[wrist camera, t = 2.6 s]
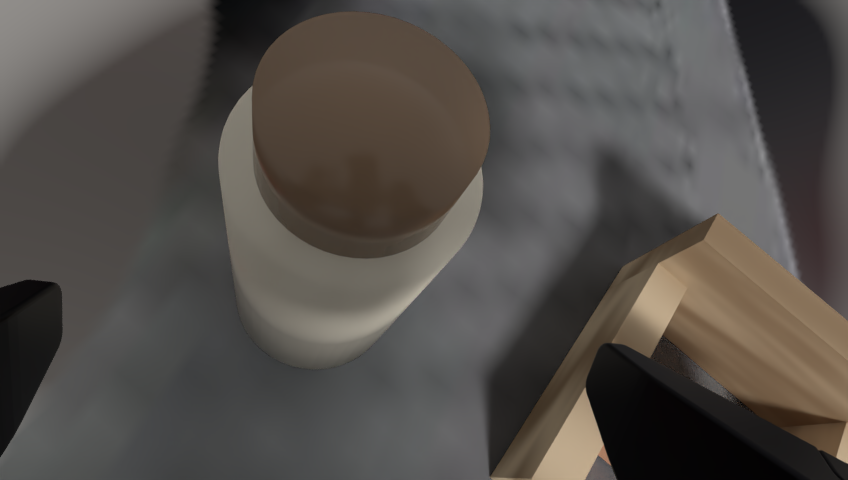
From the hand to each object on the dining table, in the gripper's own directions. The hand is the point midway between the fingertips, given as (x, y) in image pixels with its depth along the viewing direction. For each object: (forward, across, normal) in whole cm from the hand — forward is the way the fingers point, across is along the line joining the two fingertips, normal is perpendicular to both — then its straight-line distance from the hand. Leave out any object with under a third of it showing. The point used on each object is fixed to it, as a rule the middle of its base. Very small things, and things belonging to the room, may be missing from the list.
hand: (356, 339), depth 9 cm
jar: (+11, 0, +5) cm, 12 cm away
